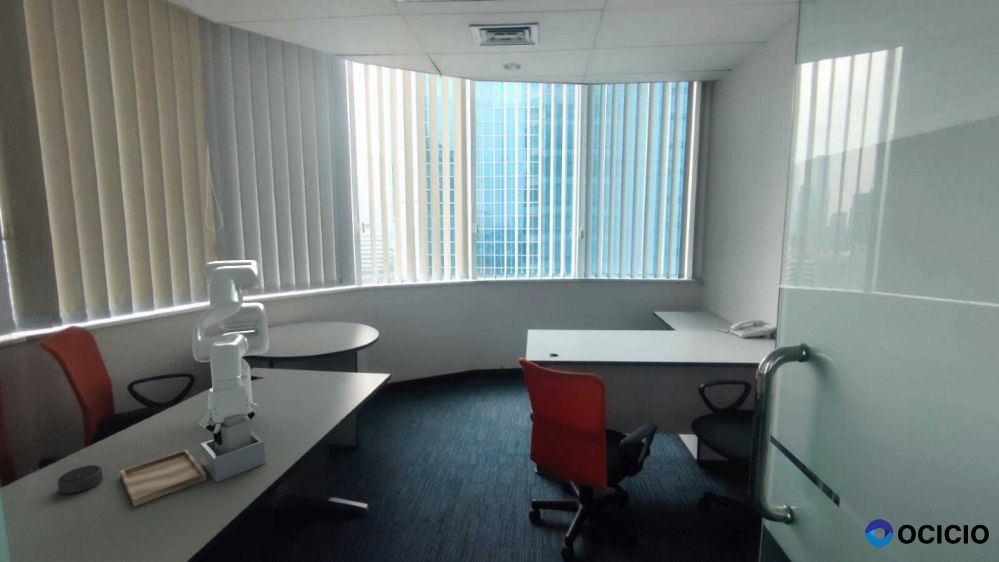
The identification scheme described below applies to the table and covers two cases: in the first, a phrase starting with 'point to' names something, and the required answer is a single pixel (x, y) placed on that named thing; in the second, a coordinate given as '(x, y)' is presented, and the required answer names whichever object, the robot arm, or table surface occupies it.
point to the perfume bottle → (234, 434)
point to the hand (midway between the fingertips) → (232, 438)
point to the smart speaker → (80, 479)
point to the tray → (161, 476)
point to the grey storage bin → (232, 458)
